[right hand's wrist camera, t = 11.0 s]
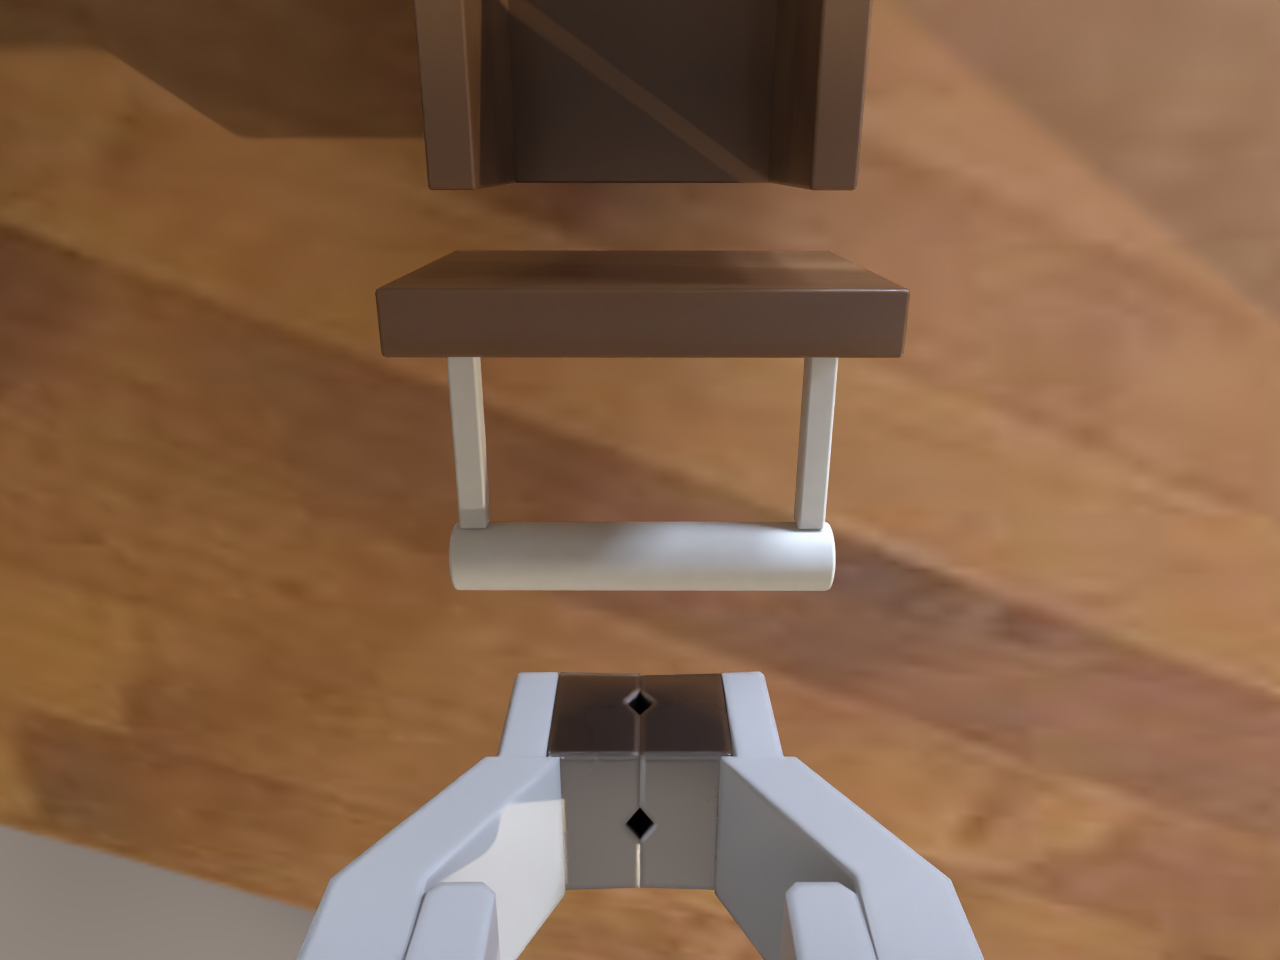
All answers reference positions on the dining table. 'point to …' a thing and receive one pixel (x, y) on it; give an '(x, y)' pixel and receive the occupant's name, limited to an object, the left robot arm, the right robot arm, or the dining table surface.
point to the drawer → (642, 280)
